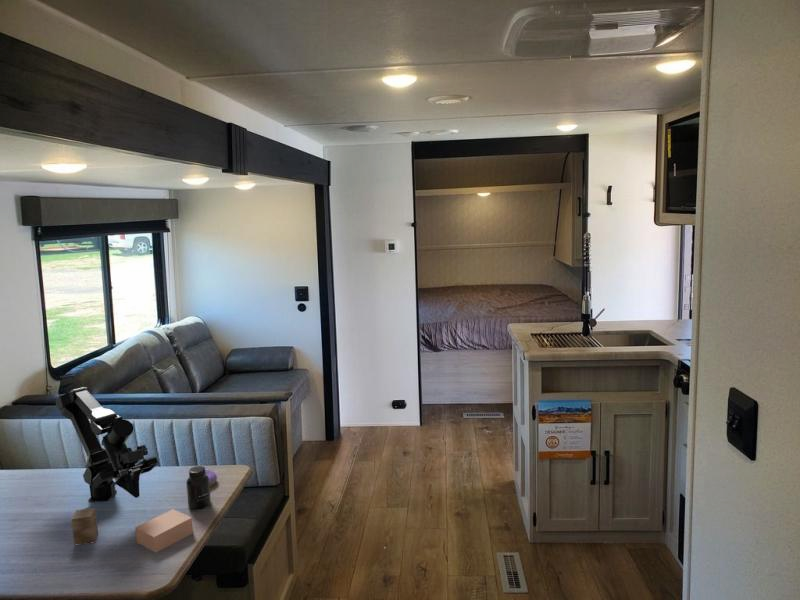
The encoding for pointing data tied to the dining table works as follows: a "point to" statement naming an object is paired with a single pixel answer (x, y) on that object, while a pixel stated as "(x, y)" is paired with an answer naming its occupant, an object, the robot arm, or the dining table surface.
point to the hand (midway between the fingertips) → (137, 497)
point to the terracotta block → (164, 530)
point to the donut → (211, 477)
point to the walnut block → (84, 526)
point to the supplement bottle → (198, 488)
